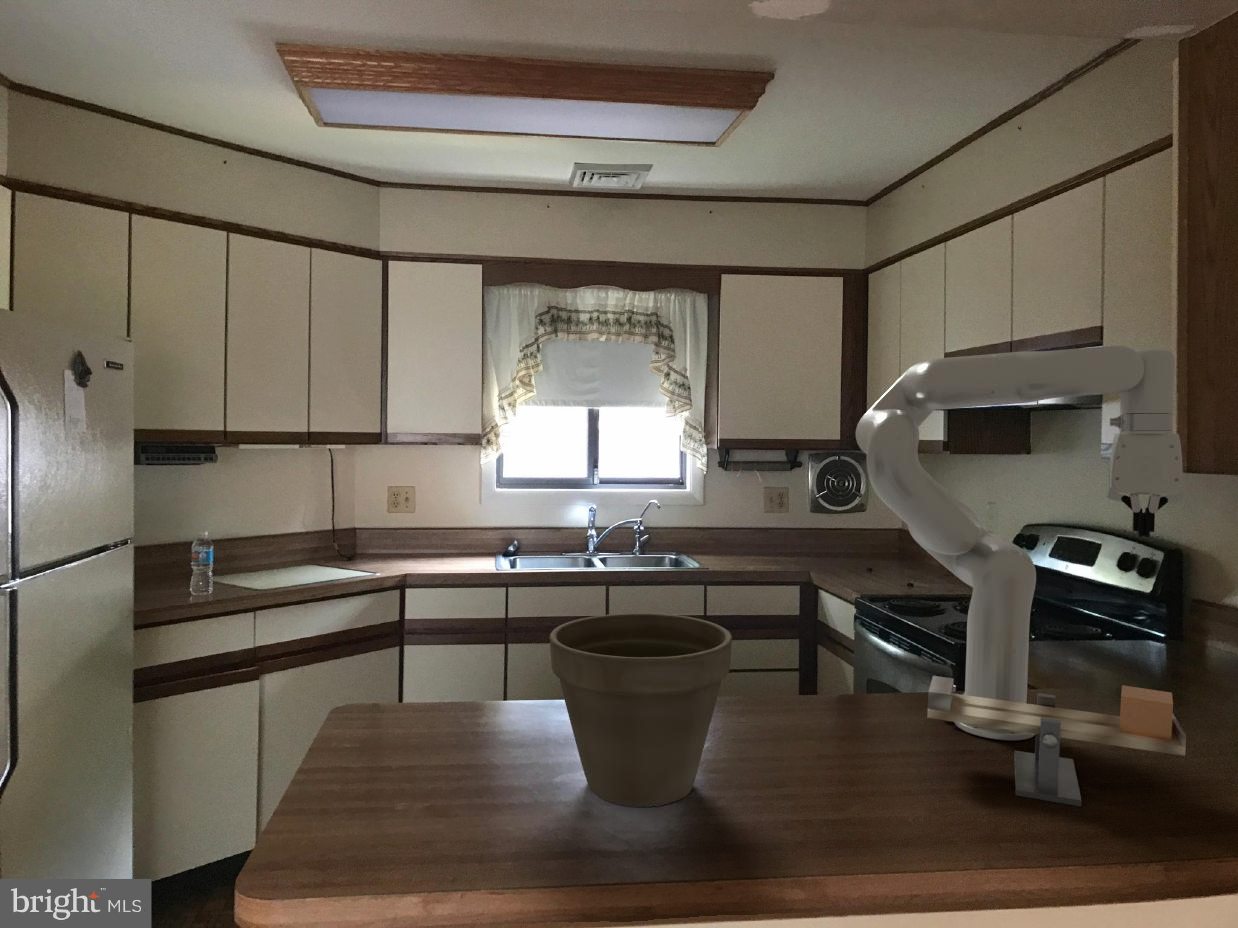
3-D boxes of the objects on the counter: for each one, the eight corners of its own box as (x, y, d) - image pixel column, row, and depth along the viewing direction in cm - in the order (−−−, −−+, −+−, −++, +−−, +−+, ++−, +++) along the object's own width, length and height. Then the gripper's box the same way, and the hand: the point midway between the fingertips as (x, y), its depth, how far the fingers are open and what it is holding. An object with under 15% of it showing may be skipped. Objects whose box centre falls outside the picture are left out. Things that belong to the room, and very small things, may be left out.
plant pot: (568, 836, 106) (571, 660, 105) (533, 760, 130) (535, 615, 129) (758, 815, 112) (762, 649, 111) (691, 746, 136) (694, 608, 135)
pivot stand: (1015, 795, 120) (1018, 719, 119) (1014, 755, 135) (1017, 688, 134) (1081, 806, 117) (1084, 729, 116) (1072, 764, 131) (1075, 695, 131)
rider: (1118, 739, 119) (1121, 695, 119) (1119, 726, 125) (1122, 685, 124) (1170, 748, 116) (1173, 704, 116) (1169, 735, 121) (1171, 692, 121)
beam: (927, 717, 127) (928, 692, 127) (932, 698, 136) (933, 674, 136) (1185, 755, 114) (1186, 727, 114) (1171, 731, 123) (1173, 705, 123)
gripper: (1095, 425, 143) (1092, 536, 144) (1204, 425, 137) (1200, 541, 137) (1093, 425, 150) (1090, 531, 151) (1196, 425, 143) (1193, 536, 144)
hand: (1143, 535), depth 144 cm, fingers closed
